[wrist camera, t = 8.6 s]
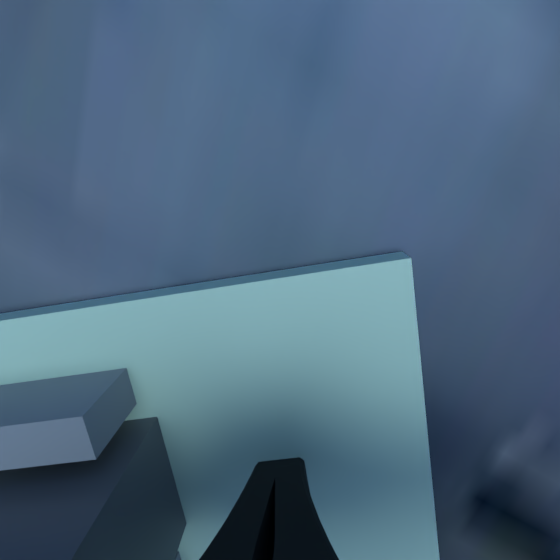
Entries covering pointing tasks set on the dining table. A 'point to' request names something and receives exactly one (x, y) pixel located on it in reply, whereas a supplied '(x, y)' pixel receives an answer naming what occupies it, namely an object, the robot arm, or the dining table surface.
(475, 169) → the dining table surface
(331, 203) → the dining table surface
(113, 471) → the plug
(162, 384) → the board
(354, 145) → the dining table surface
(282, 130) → the dining table surface
